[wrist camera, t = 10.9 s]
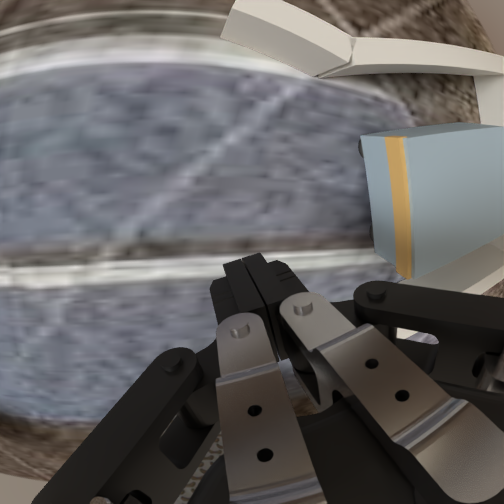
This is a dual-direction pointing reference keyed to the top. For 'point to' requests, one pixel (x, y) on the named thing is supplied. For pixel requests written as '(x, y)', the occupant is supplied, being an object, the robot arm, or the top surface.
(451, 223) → the light blue box
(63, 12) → the top surface
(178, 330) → the top surface
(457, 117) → the top surface
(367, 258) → the top surface
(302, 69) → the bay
